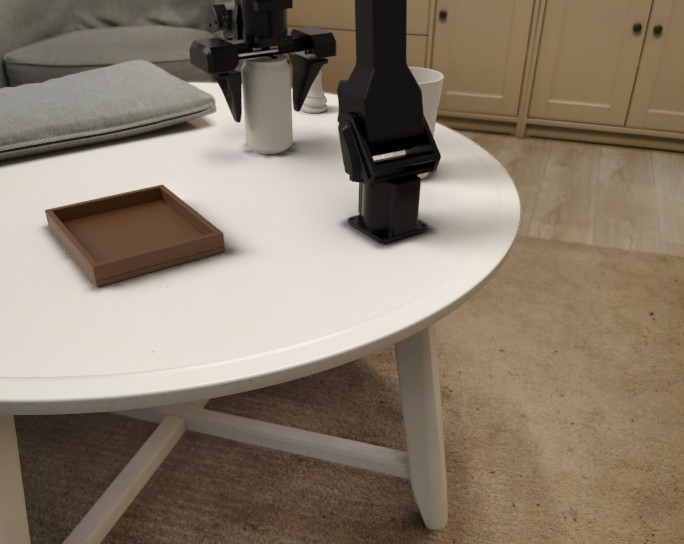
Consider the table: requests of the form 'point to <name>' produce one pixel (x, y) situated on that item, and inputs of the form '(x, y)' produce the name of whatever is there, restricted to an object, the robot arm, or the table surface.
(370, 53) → the robot arm
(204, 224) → the tray
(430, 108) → the cup
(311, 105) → the rook chess piece
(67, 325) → the table surface
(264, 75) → the beverage can
